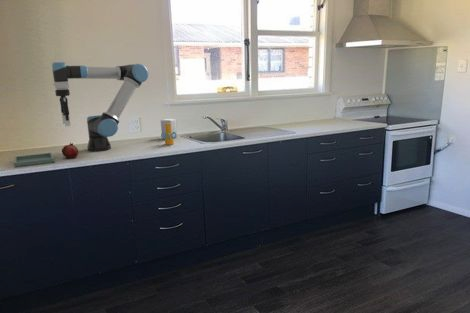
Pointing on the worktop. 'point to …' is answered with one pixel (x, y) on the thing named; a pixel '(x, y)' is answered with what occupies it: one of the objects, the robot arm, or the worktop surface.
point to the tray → (33, 160)
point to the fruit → (70, 151)
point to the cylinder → (168, 135)
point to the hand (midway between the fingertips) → (66, 124)
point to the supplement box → (173, 126)
